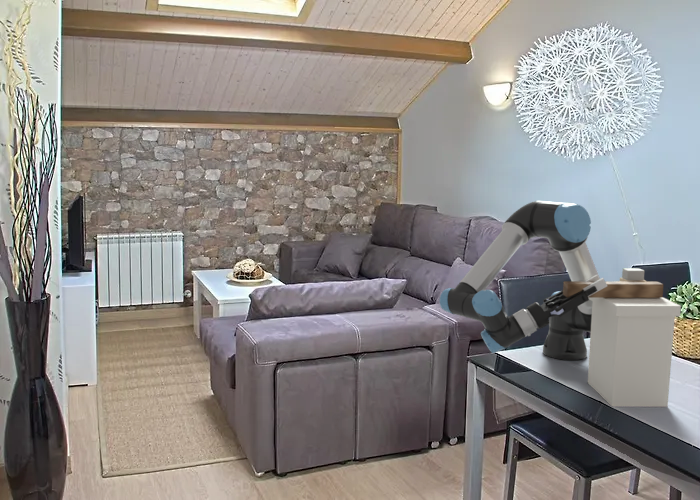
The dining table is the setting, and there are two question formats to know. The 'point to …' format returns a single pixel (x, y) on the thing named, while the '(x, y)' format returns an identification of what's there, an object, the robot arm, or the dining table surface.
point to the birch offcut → (632, 280)
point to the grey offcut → (633, 274)
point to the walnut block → (617, 289)
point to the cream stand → (632, 350)
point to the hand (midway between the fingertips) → (601, 280)
